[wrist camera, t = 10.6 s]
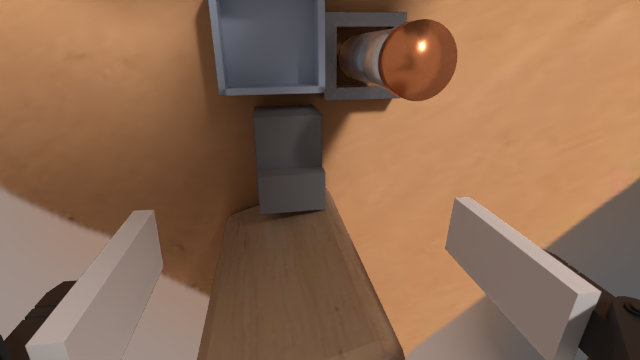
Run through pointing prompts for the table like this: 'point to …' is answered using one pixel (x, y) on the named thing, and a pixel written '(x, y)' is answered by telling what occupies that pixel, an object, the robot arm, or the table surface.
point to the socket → (331, 25)
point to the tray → (268, 46)
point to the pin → (403, 59)
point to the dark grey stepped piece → (289, 158)
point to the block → (294, 292)
